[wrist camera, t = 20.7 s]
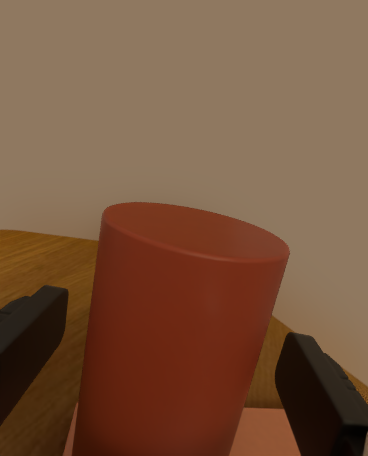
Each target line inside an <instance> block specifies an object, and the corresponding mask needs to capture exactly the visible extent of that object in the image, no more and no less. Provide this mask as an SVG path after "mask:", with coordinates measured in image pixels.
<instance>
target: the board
mask: <svg viewBox="0 0 368 456" xmlns="http://www.w3.org/2000/svg"><path fill="white" fill-rule="evenodd" d="M77 409H78V402H77V403H76V406H75V410H74V414H73V418H72V422H71V425H70V429H69V433H68V437H67V441H66V444H65V448H64V452H63V456H72V448H73V440H74V433H75V425H76V417H77ZM229 456H301V454H300V452H299V449H298V446H297V443H296V441H295V438H294V435H293V432H292V430H291V427H290V424H289V421H288V419H287V416H286V413H285V410H284V409H271V408H243V411H242V415H241V418H240V421H239V425H238V428H237V431H236V435H235V438H234V441H233V445H232V448H231V451H230V455H229Z"/></svg>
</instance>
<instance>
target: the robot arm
mask: <svg viewBox="0 0 368 456" xmlns="http://www.w3.org/2000/svg"><path fill="white" fill-rule="evenodd" d="M67 304H68V290H67V289H65V288H60V287H54V286H49V285H44V286H43V287H42V288H41V289H39V290H38V291H37V292H36V293H35V294H33V295H32V296H31V297H29V296H24V297H22V298H19V299H17V300H14V301H12V302H10V303H8V304H7V305H6V306H5V307H3V308H2V309H1V310H0V426H1V425H2V423H3V422H4V420H5V419H6V418H7V416H8V415H9V413H10V412H11V411H12V409H13V408H14V407H15V405H16V404H17V402H18V401H19V400H20V398H21V397H22V395H23V394H24V393H25V391H26V390H27V389H28V387H29V386H30V384H31V383H32V382H33V380H34V379H35V378H36V376H37V375H38V373H39V372H40V371H41V369H42V368H43V366H44V365H45V364H46V362H47V361H48V360H49V358H50V357H51V355H52V354H53V353H54V351H55V350H56V348H57V347H58V346H59V344H60V342H61V340H62V337H63V334H64V331H65V324H66V314H67ZM275 384H276V388H277V391H278V394H279V397H280V399H281V402H282V405H283V408H284V410H285V413H286V416H287V419H288V421H289V424H290V427H291V430H292V432H293V435H294V438H295V441H296V443H297V446H298V449H299V452H300V454H301V456H368V405H367V403H366V402H365V400H364V399H363V398H362V396H361V395H360V393H359V392H358V391H356V388H355V386H354V385H353V384H352V382H351V381H350V380H348V376H347V375H346V374H345V372H344V371H343V369H342V368H341V367H340V365H339V364H337V363H336V362H335V361H334V360H333V359H332V358H331V357H330V356H328V355H327V354H326V353H323V351H322V350H321V348H320V347H319V345H318V344H317V342H316V341H315V339H314V338H313V337H311V336H309V335H303V334H298V333H293V332H289V333H288V334H287V336H286V338H285V341H284V344H283V347H282V351H281V354H280V357H279V360H278V363H277V366H276V370H275Z"/></svg>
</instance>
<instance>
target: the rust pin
mask: <svg viewBox="0 0 368 456" xmlns="http://www.w3.org/2000/svg"><path fill="white" fill-rule="evenodd" d="M289 255H290V251H289V247H288V245H287V244H286V243H285V242H284V241H283V240H281V239H280V238H279V237H277V236H275V235H274V234H272V233H270V232H268V231H266V230H264V229H262V228H259V227H257V226H255V225H252V224H249V223H246V222H244V221H241V220H238V219H235V218H231V217H228V216H224V215H221V214H217V213H213V212H208V211H204V210H199V209H194V208H189V207H183V206H176V205H169V204H160V203H145V202H143V203H142V202H131V203H121V204H116V205H112V206H109V207H107V208H106V209H105V210H104V212H103V214H102V221H101V228H100V236H99V244H98V251H97V259H96V267H95V275H94V283H93V291H92V299H91V307H90V314H89V322H88V330H87V338H86V346H85V354H84V362H83V370H82V377H81V385H80V393H79V401H78V409H77V417H76V425H75V433H74V440H73V448H72V456H229V455H230V451H231V448H232V445H233V441H234V438H235V435H236V431H237V428H238V425H239V421H240V418H241V415H242V411H243V408H244V405H245V401H246V398H247V395H248V391H249V388H250V385H251V381H252V378H253V375H254V371H255V368H256V365H257V361H258V358H259V355H260V351H261V348H262V345H263V341H264V338H265V335H266V331H267V328H268V325H269V321H270V318H271V315H272V311H273V308H274V305H275V301H276V298H277V294H278V291H279V288H280V284H281V281H282V278H283V274H284V271H285V268H286V264H287V261H288V258H289Z"/></svg>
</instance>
